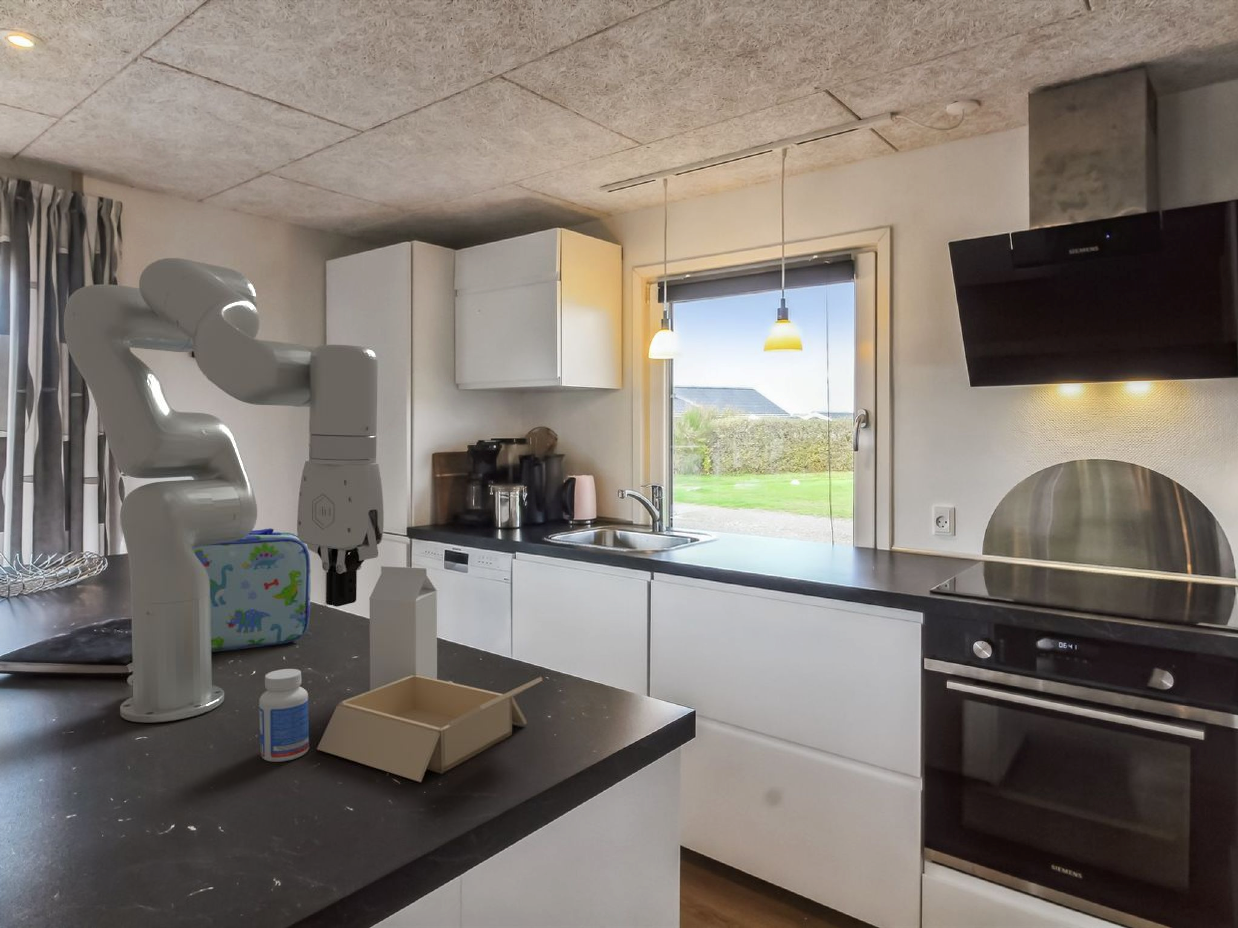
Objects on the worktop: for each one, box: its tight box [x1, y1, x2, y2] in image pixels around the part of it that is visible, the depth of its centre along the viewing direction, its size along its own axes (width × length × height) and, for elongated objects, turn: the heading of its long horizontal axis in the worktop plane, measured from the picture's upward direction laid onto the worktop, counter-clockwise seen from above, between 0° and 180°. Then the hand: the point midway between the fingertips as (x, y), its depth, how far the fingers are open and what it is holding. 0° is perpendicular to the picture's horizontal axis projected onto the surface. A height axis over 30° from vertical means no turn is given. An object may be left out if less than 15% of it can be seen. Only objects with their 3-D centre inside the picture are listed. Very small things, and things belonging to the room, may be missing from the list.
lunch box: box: [193, 527, 312, 653], centre depth 138 cm, size 26×11×21 cm, turn 120°
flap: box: [448, 676, 543, 727], centre depth 92 cm, size 1×12×6 cm
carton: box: [316, 675, 528, 783], centre depth 98 cm, size 20×20×5 cm
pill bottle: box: [258, 668, 310, 763], centre depth 93 cm, size 6×5×10 cm
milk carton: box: [369, 565, 438, 691], centre depth 113 cm, size 7×7×19 cm
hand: (341, 603), depth 92 cm, fingers closed
